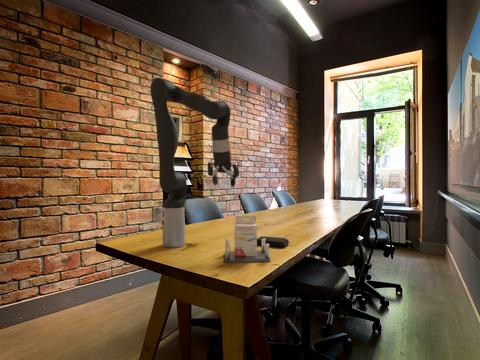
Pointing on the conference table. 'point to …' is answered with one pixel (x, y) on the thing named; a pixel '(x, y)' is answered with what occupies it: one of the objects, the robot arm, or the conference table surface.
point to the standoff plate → (261, 256)
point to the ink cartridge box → (245, 236)
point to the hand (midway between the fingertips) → (224, 185)
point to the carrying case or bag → (273, 241)
